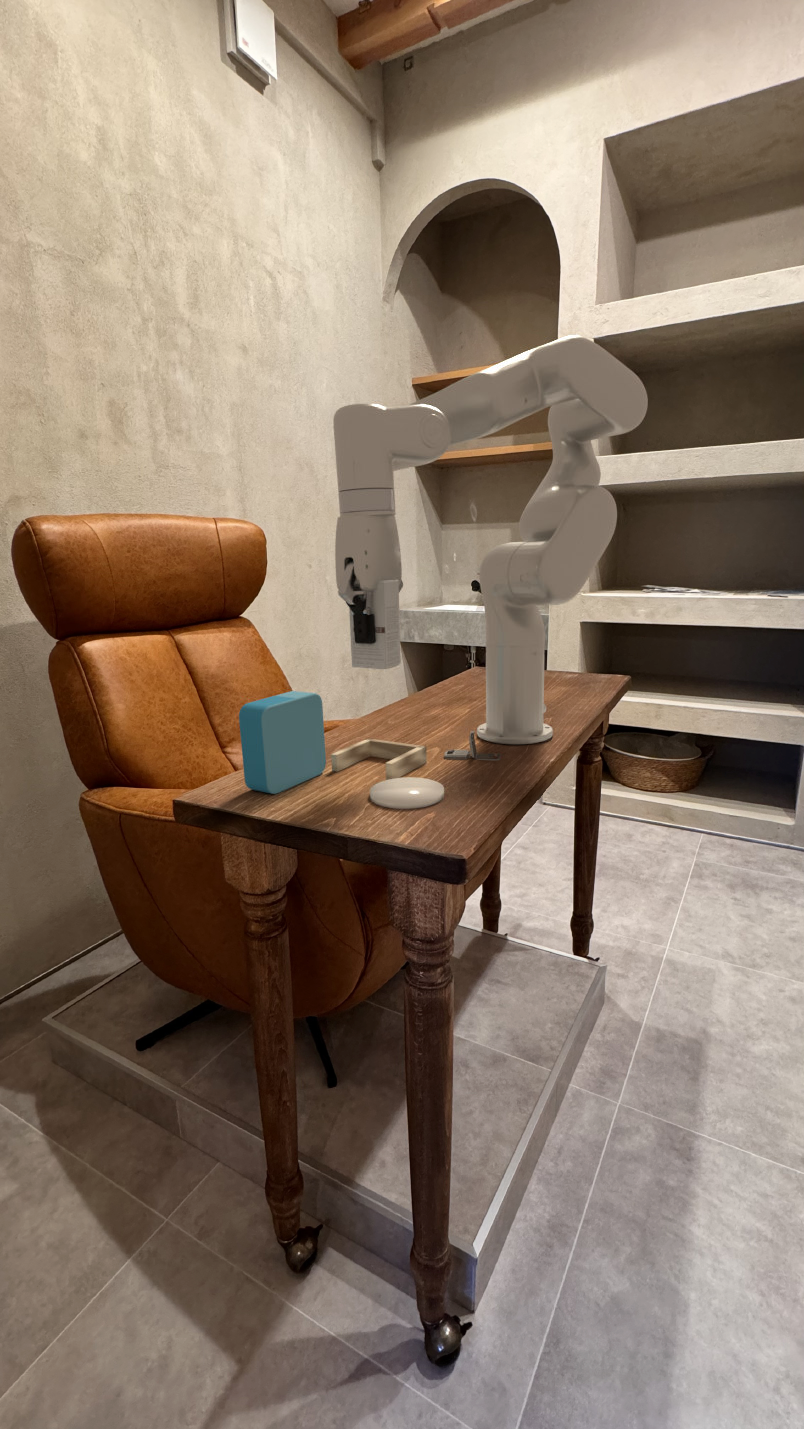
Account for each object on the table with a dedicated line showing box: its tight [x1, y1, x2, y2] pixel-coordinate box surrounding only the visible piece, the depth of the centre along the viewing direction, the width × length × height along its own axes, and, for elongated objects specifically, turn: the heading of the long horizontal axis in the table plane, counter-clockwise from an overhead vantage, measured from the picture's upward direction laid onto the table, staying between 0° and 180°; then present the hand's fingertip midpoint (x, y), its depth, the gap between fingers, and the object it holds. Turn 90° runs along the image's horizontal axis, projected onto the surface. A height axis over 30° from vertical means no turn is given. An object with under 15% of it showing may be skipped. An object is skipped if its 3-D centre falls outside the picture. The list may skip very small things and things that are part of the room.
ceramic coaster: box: [369, 776, 445, 810], centre depth 87 cm, size 10×10×1 cm
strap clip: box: [443, 730, 501, 761], centre depth 102 cm, size 8×3×4 cm, turn 78°
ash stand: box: [330, 738, 427, 780], centre depth 99 cm, size 10×10×2 cm
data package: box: [238, 690, 327, 795], centre depth 92 cm, size 12×4×12 cm, turn 147°
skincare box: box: [348, 580, 402, 670], centre depth 94 cm, size 6×4×12 cm
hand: (375, 639), depth 95 cm, fingers closed on skincare box, 4 cm apart
